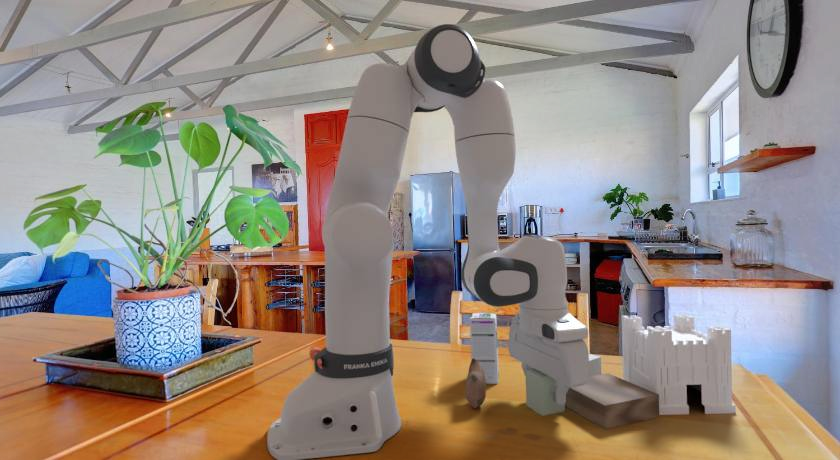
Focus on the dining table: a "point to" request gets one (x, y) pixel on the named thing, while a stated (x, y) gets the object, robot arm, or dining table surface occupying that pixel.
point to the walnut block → (612, 401)
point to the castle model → (679, 363)
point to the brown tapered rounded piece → (475, 384)
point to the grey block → (594, 365)
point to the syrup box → (485, 344)
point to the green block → (541, 393)
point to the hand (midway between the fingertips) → (544, 394)
